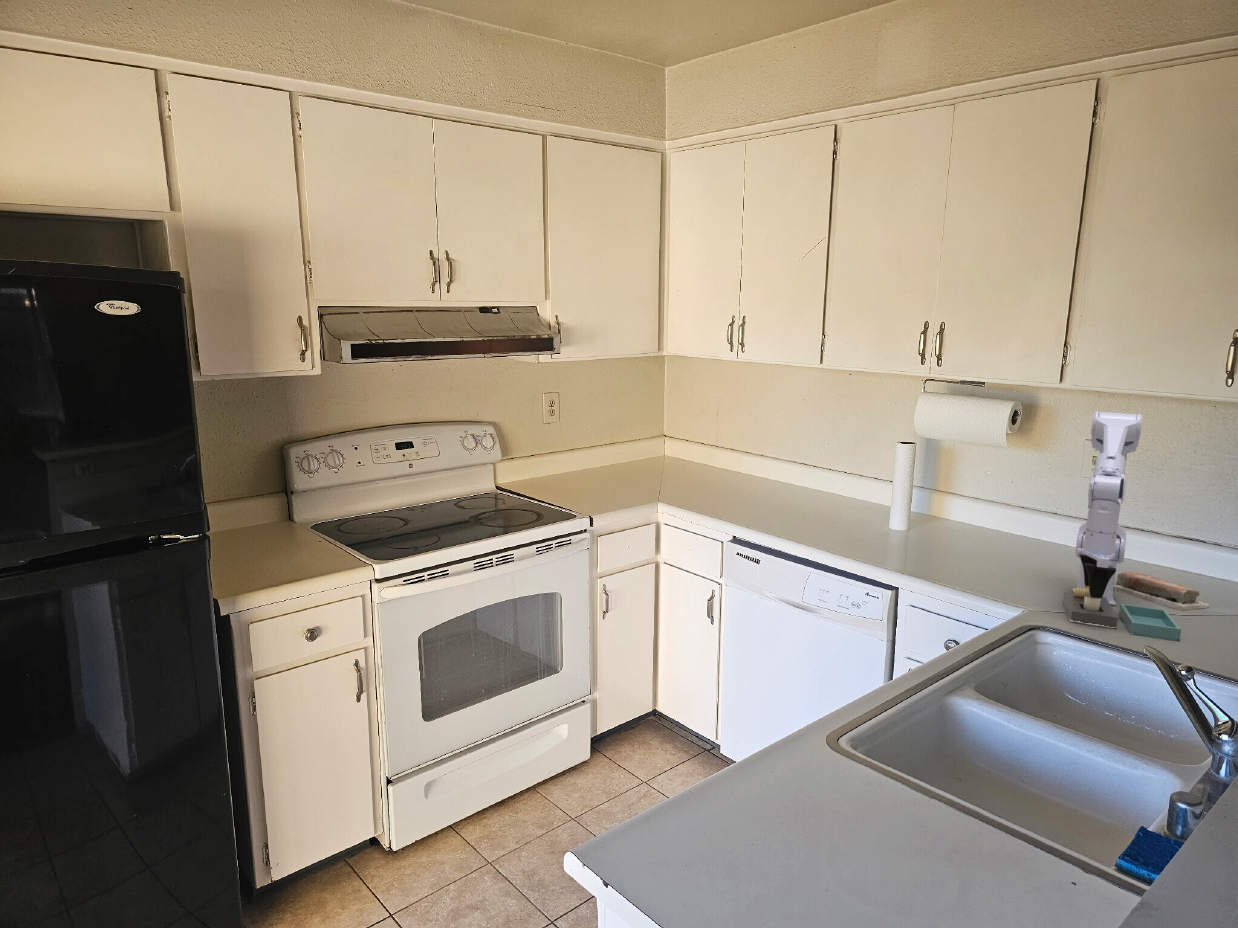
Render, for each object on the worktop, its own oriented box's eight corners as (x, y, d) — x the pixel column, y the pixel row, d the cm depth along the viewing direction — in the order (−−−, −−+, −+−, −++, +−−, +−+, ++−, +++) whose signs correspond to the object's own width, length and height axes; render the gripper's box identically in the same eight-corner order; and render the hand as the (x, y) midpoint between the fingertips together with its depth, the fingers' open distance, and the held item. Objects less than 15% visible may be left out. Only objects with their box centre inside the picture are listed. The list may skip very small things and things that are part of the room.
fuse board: (1062, 601, 188) (1064, 583, 187) (1104, 607, 184) (1107, 588, 184) (1070, 622, 173) (1073, 601, 172) (1116, 629, 170) (1119, 608, 169)
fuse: (1081, 615, 178) (1085, 584, 177) (1096, 618, 177) (1100, 587, 176) (1082, 619, 175) (1086, 588, 174) (1098, 622, 174) (1102, 590, 173)
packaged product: (1110, 571, 200) (1138, 568, 204) (1108, 590, 201) (1136, 587, 205) (1184, 592, 184) (1213, 589, 188) (1181, 613, 185) (1210, 609, 188)
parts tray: (1118, 614, 180) (1120, 603, 180) (1163, 621, 177) (1165, 609, 176) (1130, 633, 167) (1132, 622, 167) (1179, 641, 164) (1181, 629, 164)
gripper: (1075, 522, 181) (1068, 581, 183) (1084, 535, 168) (1076, 598, 170) (1112, 526, 179) (1104, 586, 181) (1123, 539, 165) (1115, 603, 167)
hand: (1093, 592), depth 175 cm, fingers open, 7 cm apart
